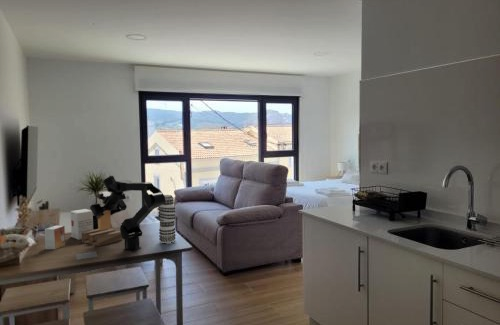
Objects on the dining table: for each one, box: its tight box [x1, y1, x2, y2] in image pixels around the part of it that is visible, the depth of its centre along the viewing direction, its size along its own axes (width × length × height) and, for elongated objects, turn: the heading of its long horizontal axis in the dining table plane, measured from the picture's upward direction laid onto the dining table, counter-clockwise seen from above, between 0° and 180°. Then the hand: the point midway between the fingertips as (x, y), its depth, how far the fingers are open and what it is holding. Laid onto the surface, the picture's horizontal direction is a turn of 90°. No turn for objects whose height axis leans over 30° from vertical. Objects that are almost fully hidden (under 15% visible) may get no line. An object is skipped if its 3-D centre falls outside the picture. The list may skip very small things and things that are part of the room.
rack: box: [81, 228, 123, 247], centre depth 203 cm, size 16×14×5 cm
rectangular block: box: [97, 210, 112, 230], centre depth 200 cm, size 2×6×12 cm, turn 145°
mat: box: [75, 251, 99, 261], centre depth 178 cm, size 9×9×1 cm
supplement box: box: [70, 208, 94, 241], centre depth 211 cm, size 9×9×15 cm
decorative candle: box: [157, 194, 176, 244], centre depth 200 cm, size 9×9×25 cm
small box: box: [44, 224, 66, 250], centre depth 192 cm, size 8×6×10 cm
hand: (102, 217), depth 201 cm, fingers closed on rectangular block, 6 cm apart
